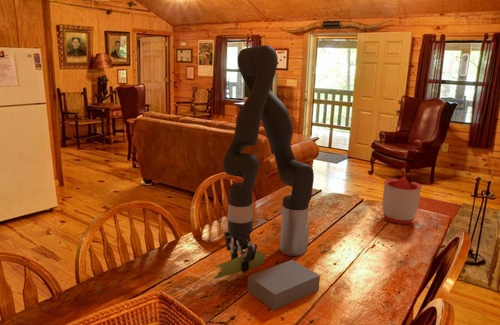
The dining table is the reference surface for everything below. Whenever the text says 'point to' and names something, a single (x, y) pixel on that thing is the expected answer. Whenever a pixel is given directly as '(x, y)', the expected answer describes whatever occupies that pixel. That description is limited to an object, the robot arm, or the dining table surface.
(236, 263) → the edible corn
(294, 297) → the plinth
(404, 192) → the citrus juicer
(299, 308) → the dining table surface
